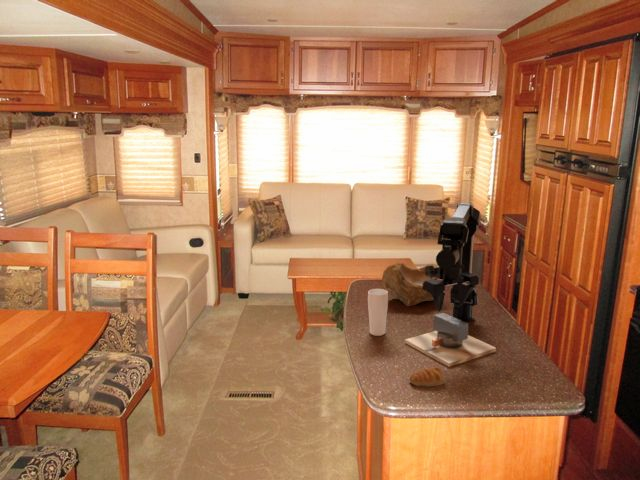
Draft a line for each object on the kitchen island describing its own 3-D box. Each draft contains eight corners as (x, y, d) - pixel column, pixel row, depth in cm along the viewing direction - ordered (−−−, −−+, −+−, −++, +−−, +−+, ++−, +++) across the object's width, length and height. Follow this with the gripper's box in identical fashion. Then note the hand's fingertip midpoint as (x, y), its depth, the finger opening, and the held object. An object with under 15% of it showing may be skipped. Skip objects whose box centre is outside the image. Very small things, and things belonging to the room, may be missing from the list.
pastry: (416, 391, 143) (417, 378, 142) (404, 379, 149) (405, 367, 148) (446, 385, 146) (447, 372, 145) (433, 374, 152) (434, 362, 151)
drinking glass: (389, 330, 182) (390, 289, 179) (385, 338, 176) (385, 295, 172) (370, 328, 184) (370, 287, 181) (365, 336, 178) (365, 293, 175)
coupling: (446, 334, 175) (447, 311, 173) (471, 346, 166) (473, 322, 164) (421, 341, 170) (422, 318, 168) (445, 354, 161) (446, 329, 159)
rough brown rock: (388, 312, 202) (391, 275, 197) (378, 294, 217) (381, 260, 213) (447, 310, 205) (451, 275, 200) (433, 293, 220) (436, 259, 216)
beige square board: (450, 330, 182) (450, 326, 182) (495, 351, 166) (496, 347, 165) (405, 342, 172) (405, 338, 172) (448, 367, 156) (449, 362, 155)
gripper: (455, 251, 174) (453, 296, 178) (411, 259, 165) (410, 306, 168) (481, 258, 165) (478, 306, 168) (436, 267, 156) (434, 317, 159)
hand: (449, 308), depth 166 cm, fingers open, 9 cm apart
